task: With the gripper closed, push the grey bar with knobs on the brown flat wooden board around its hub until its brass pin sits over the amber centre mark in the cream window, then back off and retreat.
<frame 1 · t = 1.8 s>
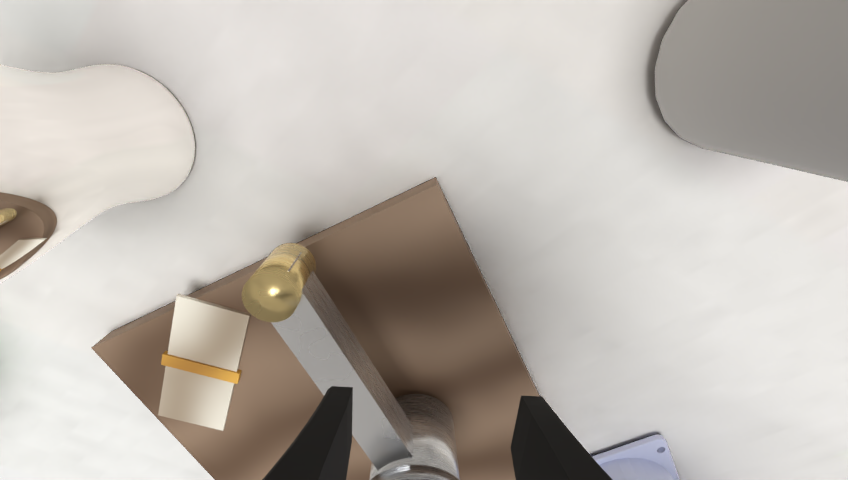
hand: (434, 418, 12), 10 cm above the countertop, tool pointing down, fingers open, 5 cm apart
brown flat wooden board: (355, 395, 25), on the countertop
grey bar with knobs: (365, 394, 19), point 5 cm above the countertop, hinge at 0.0°
can: (724, 62, 18), on the countertop
beer glass: (132, 134, 19), on the countertop
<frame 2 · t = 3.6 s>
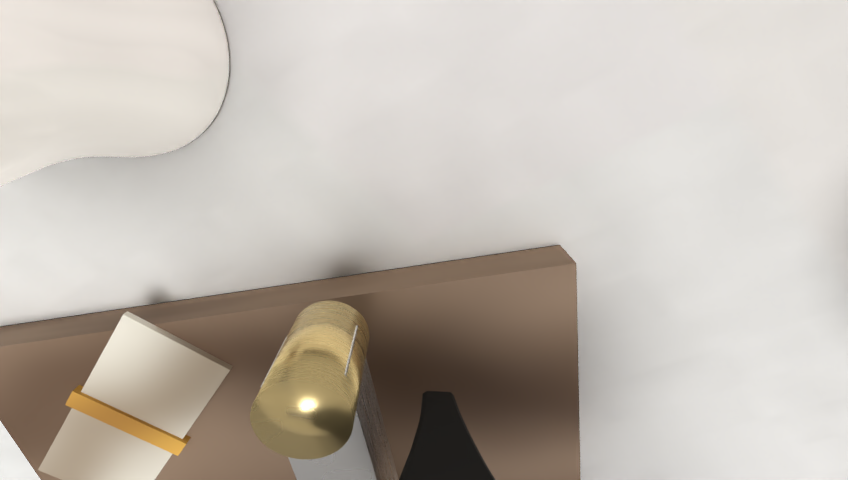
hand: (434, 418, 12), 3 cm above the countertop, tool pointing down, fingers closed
beer glass: (125, 45, 12), on the countertop
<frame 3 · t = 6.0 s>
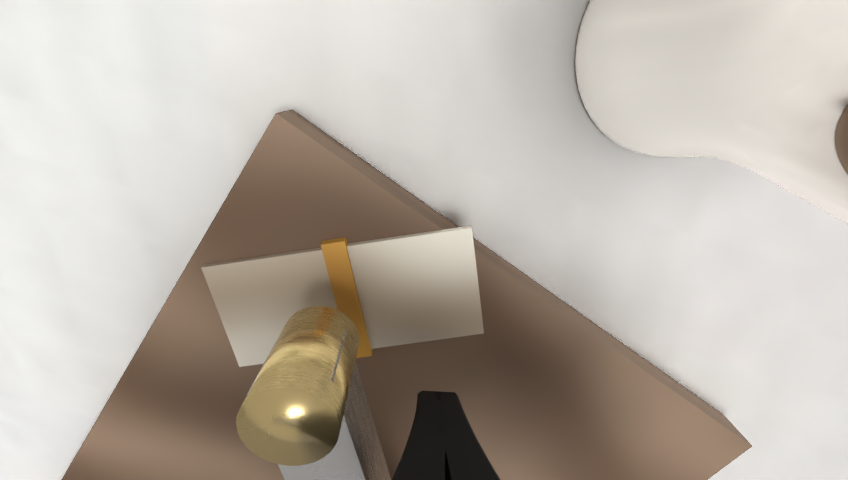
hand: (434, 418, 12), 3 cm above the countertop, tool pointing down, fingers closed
brown flat wooden board: (381, 458, 17), on the countertop
beer glass: (675, 47, 12), on the countertop
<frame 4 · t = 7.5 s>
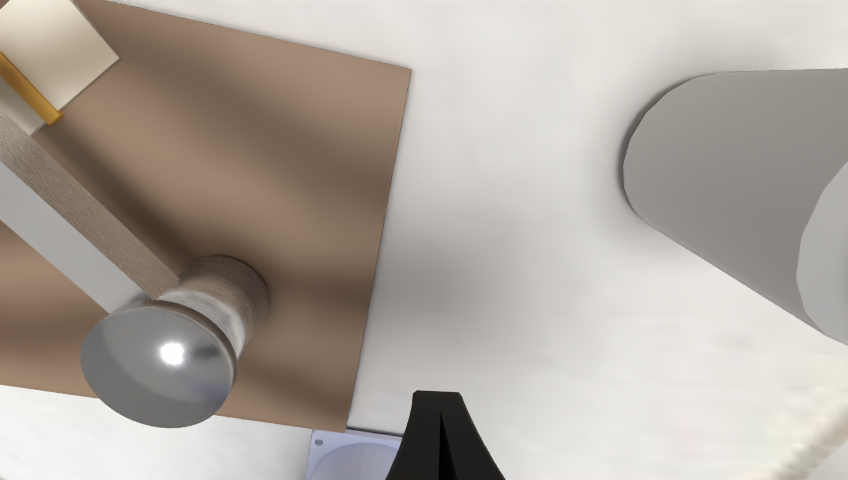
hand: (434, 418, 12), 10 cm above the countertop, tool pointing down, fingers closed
brown flat wooden board: (180, 235, 21), on the countertop
grey bar with knobs: (94, 237, 16), point 5 cm above the countertop, hinge at 47.1°
can: (689, 155, 20), on the countertop
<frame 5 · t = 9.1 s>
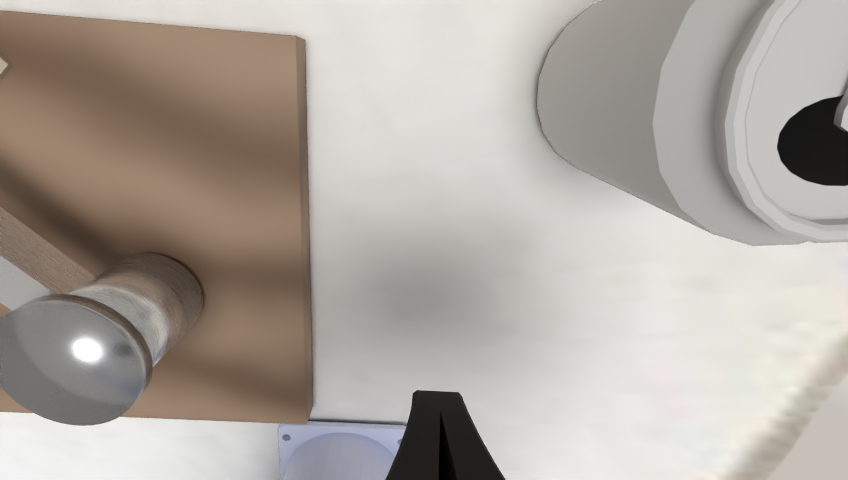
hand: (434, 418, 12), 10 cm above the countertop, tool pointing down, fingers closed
brown flat wooden board: (111, 240, 21), on the countertop
can: (610, 90, 19), on the countertop
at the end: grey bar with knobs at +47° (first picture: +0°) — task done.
